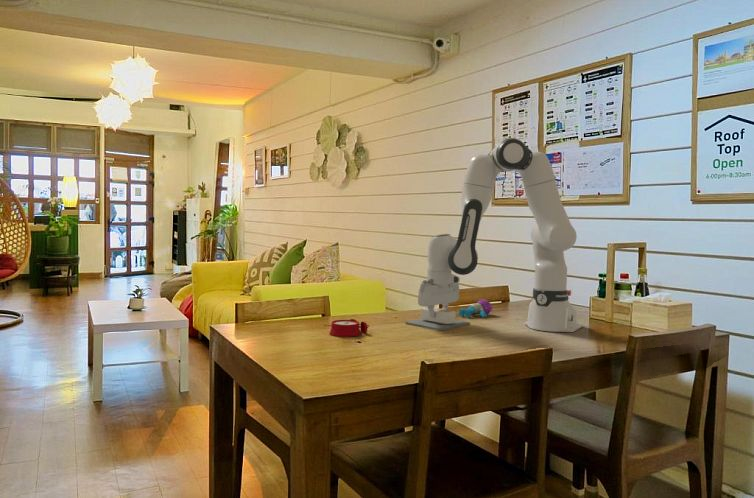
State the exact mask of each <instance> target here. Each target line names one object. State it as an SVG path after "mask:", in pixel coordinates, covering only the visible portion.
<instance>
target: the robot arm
mask: <svg viewBox="0 0 754 498" xmlns="http://www.w3.org/2000/svg"><path fill="white" fill-rule="evenodd" d="M512 171H516V172H518V174H519V175H520V177H521V178H522V184H523V188H524V193H525V196H526V200H527V204H528V208H529V210H530V211H531V213H532V216H533V218H534V220H535V222H536V224H535V225H533V227H532V229H531V231H530V238H531V240H532V249H533V258H534V288H533V289H532V299H533V300H532V301H531V302H530V303H529V307H528V312H527V313H528V316H527V320H526V321H524V325H526V326H527V327H528V328H530V329H532V330H537V331H542V332H543V331H544V332H554V333H555V332H556V333H559V332H564V333H574V332H576V331H577V330H579V329H580V328H582V327H583V326H584V325H583V323H582V322H578V321H577V309H575V307H574V306H573V305H572V304H571V302H570V301H569V299H570V298H569V296H571V295H572V290H571V289H569V290H568V289H567V281H568V280H567V279H568V266H567V264H566V260H565V253H564V252H565V251H568V250H570V249H571V248H573V246H574V245H575V244H576V241H577V231H576V229H575V228H574V226H573V225H572V224H571V222H570V218H569V216H568V214H567V212H566V209H565V207H564V205H563V203H562V202H563V201H562V199H561V197H560V196H561V195H560V192H559V189H558V184H557V181H556V176H555V174H554V169H553V167H552V165H551V162H550V159H549V157H548V156H547V154H545V153H544V152H542V151H532V150H531V149H529V147H528V146H527V145H526V144H525V143H524V142H523V141H522V140H520V139H518V138H513V137H510V138H505V139H503V140H500V141H499V142H498V143H497V144H496V145H495V146H494V147H493V148H492V149H491V151H490V152H489V153H487V154H477V155H474V156H473V157H472V158H470V161H469V162H468V166H467V169H466V171H465V174H464V178H463V182H462V187H461V214H462V215H461V221H460V222H461V223H460V227H459V230H458V235H457V238H455V237H453V236H452V235H451V234H449V233H444V234H438V235H434V236H432V237H431V238H430V239H429V240H428V241H429V242H428V246H427V247H428V248H427V261H428V265H427V270H426V271H427V273H426V274H427V275H426V279H424V280H422V281H421V283H420V286H419V289H418V294H417V305H418V306H420V307H424V308H427V307H428V310H429V312H430V317H432V318H433V317H436V312H434V309H433V308H435V307H436V306H437V305H442V308H441V309H444V310H448V309H449V306H450V303H451V304H452V303H455V302H456V303H457V302H458V300H459V297H460V284H459V283H460V281H461V280H460V277H459V276H458V275H460V276H461V275H462V276H464V275H465V276H466V275H469V274H471V273H472V272H474V271H475V270H476V267H477V266H478V261H479V260H478V259H479V254H478V251H477V250H476V242H477V238H478V234H479V233H478V232H479V227H480V224H481V220H482V218H483V216H484V214H485V212H486V211H487V210H488V207H489V205H490V203H491V201H492V198H493V193H494V190H495V185H496V180H497V177H498V176H499V174H500V173H505V172H512ZM453 273H455V274H457V275H455V274H453Z"/></svg>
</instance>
